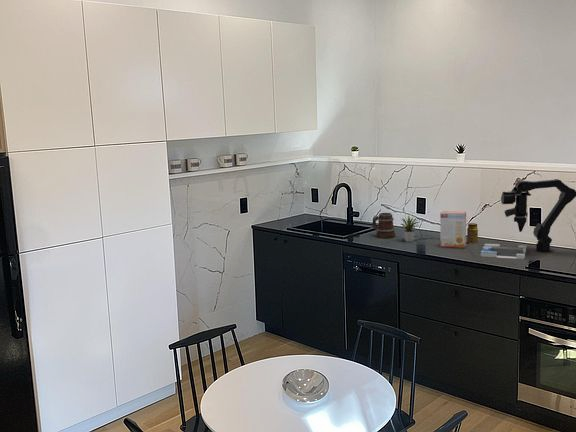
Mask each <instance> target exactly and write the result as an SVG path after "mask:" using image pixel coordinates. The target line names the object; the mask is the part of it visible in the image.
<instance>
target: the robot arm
mask: <svg viewBox="0 0 576 432" xmlns="http://www.w3.org/2000/svg"><path fill="white" fill-rule="evenodd" d="M547 188H556V189H557V191H559V192H560V193H559V196H558V200H557V202H556V203H555V204H554V206H553V208H552V209H551V211H550V212H549V213H548V215H547V216H546V218H544V221H543V222H541V223H538V222H537V224H536V225H535V227H534V228H533V231H532V233H533V236H534V237H535V238H536V240H537V243H536V245H535V247H536V249H535V251H536V252H540V253H549V252H550V251H551V243H552V241H553V238H552V237H550V236H549V234H550V231H551V227H552V226H553V224H554V223H555V222H556V220H557V219H558V217H559V216H560V214H562V212H563V210H564V209H565V207H566V206H567V205H568V204H569V203H571V202H572V201H574V199H575V198H576V190H575V189H574V188H572V187H569V186H568V185H567V184H565V183H564V182H563V181H562V180H561V179H558V178H554V179H550V180H549V179H546V180H537V181H536V180H535V181H531V180H530V181H529V180H521V179H520V180H517V181H516V182H515V184H514V186H513V188H512V189H511V191H502V194H501V196H500V203H501V205H514V203H515V206H514V207H512V208H508V209H506V210H504V215H505V217H506V218H509V217H511V216H513V215H514V217H513V222H516V223H517V227H518V230H519V231H518V232H520V233H522V232H523V229H524V227H525V226H526V223H527V220H528V217H529V216H528V215H529V213H528V210H527V209H528V197H529V196H532V193H530V192H529V191H533V190H537V189H547Z"/></svg>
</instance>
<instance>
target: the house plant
mask: <svg viewBox="0 0 576 432" xmlns="http://www.w3.org/2000/svg"><path fill="white" fill-rule="evenodd" d="M414 217H415V215H413V216H412V217H410V215H409V214H408V215H407V218H406V217H405V218H401V221H402V223H400V226H401V225H402V227H401V228H404V230H403V237H404V241H405V242H408V243H409V242H414V239H415V232H416V230H414V229H415V228H416V227H420V224H419V223H420V221H419V220H420V219H419V217H415V218H414Z"/></svg>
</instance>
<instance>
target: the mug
mask: <svg viewBox="0 0 576 432" xmlns="http://www.w3.org/2000/svg"><path fill="white" fill-rule="evenodd" d="M377 221H378V223H377V224H376V222H377ZM394 221H395V219H394V218H393V213H392V212H381V213H379V214H378V215H375V216H373V218H372V224H371V226H372V228H373V229H374V230H376V238H379V239H392V238H396V233H395V230H396V229H395V227H394Z"/></svg>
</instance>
